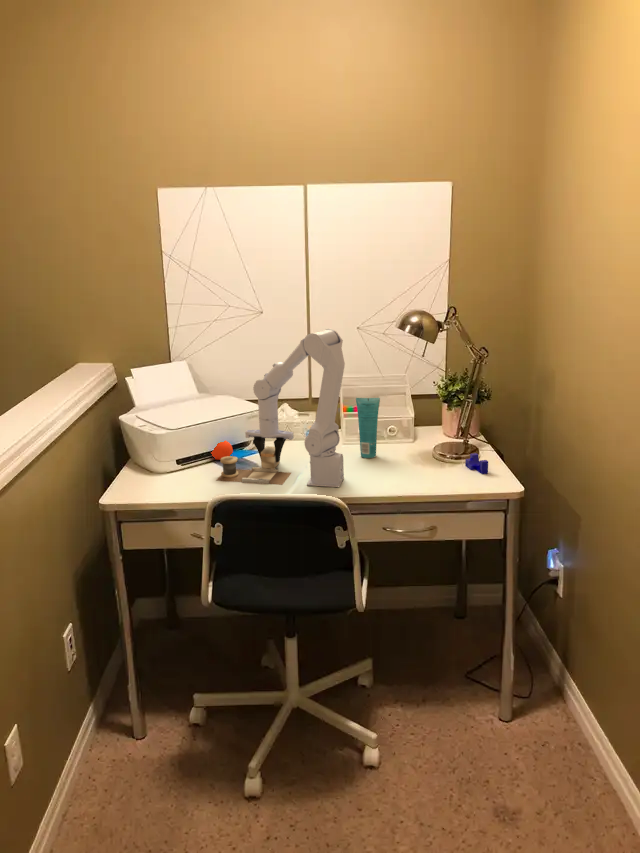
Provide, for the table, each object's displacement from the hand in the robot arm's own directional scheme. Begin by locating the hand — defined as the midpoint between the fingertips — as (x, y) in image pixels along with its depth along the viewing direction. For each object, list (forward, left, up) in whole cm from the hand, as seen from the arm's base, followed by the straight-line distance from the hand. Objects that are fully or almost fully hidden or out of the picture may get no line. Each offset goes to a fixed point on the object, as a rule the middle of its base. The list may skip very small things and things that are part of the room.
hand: (270, 460), depth 223 cm
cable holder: (-61, -11, -4) cm, 62 cm away
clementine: (+18, -5, -3) cm, 19 cm away
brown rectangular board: (+2, +10, -3) cm, 11 cm away
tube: (-27, -18, -3) cm, 33 cm away
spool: (+10, +10, -2) cm, 14 cm away
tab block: (0, 0, -1) cm, 1 cm away
